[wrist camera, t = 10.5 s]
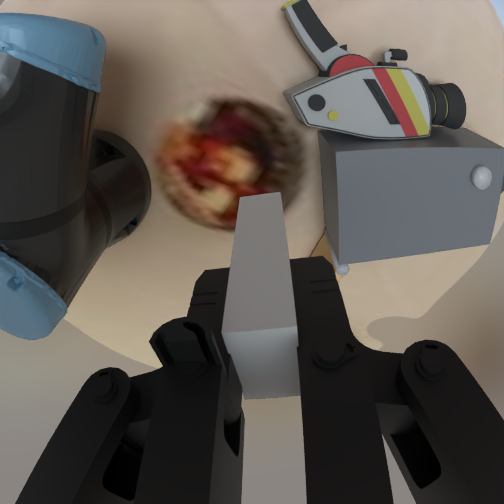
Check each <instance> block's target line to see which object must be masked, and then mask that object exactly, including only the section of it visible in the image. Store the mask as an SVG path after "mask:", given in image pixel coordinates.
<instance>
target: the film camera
mask: <svg viewBox="0 0 504 504" xmlns="http://www.w3.org/2000/svg"><path fill="white" fill-rule="evenodd" d="M281 10H282V11H284V13H285V15H286V17H287V19H288V21H289V23H290V25H291V27H292V29H293V30H294V32H295V34H296V36H297V37H298V39H299V41H300V42H301V44H302V45H303V47H304V48H305V50H306V51H307V52H308V54H309V55H310V56H311V58H312V59H313V60H314V61H315V63H316V64H317V65H318V66H319V67H320V71H319V76H318V77H316V78H313V79H311V80H309V81H306V82H304V83H302V84H300V85H297V86H295V87H293V88H291V89H288V90H286V91H284V95H285V97H286V99H287V101H288V103H289V104H290V106H291V108H292V110H293V112H294V114H295V115H296V117H297V118H299V119H300V120H301V121H302V122H304V123H305V124H306V125H308V126H312V127H317V128H322V129H328V130H333V131H337V132H342V133H347V134H351V135H356V136H360V137H366V138H373V139H409V138H419V137H426V136H429V135H430V132H431V126H432V124H438V125H441V126H445V127H448V128H451V129H458V128H460V127H461V126H462V124H463V122H464V120H465V117H466V102H465V98H464V96H463V93H462V92H461V90H460V89H459V87H458V86H457V85H455V84H453V83H446V84H439V85H430V84H429V83H428V81H427V79H426V78H425V76H423V75H421V74H418V73H414V72H413V71H412V70H411V69H410V68H407V67H398V66H397V63H392V62H390V59H393V60H404V61H405V60H407V58H408V55H407V52H406V51H405V50H401V49H390V50H389V51H387V52H384V53H383V61H384V62H378V63H377V66H374V65H373V64H372V62H370V61H369V60H368V59H367V58H365V57H363V56H360V55H356V54H350V53H349V52H348V51H347V44H346V45H342V46H340V47H338V46H337V44H338V43H337V42H336V41H335V39H334V38H333V37H332V36H331V35H330V33H329V32H328V31H327V29H326V28H325V27H324V25H323V24H322V23H321V21H320V20H319V18H318V17H317V15H316V14H315V12H314V11H313V9H312V8H311V6H310V4H309V3H308V1H307V0H291V1H289V2H288V3H286V4H284V5H283V6H282V8H281Z"/></svg>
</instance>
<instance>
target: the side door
mask: <svg viewBox="0 0 504 504" xmlns="http://www.w3.org/2000/svg"><path fill="white" fill-rule="evenodd" d="M315 256H324V257H325V258H326V259H327V260H328V261H329V262H330V263H331V264H332V265H333V268H334V271H335V274H336V279H337V281H338V282H339V280H340V279H341V278H342V276H343V275H346V274H347V273H348V272H349V267H348V264H343V265H339V264H338V261H337V258H336V255H335V252H334V249H333V246H332V243H331V240H330V237H329V234H328V231H327V228H325V229H324V235H323V236H322V238H321V240H320V241H319V243H318V245H317V247H316V248H315V250H314V252H313V253H312V255H311V256H310V257H315Z"/></svg>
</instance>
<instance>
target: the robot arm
mask: <svg viewBox="0 0 504 504" xmlns="http://www.w3.org/2000/svg"><path fill="white" fill-rule="evenodd" d="M105 54H106V41H105V39H104V37H103V35H102V34H101V33H100V32H99V31H98V30H97V29H95V28H94V27H91V26H89V25H86V24H83V23H79V22H75V21H71V20H66V19H61V18H56V17H50V16H43V15H35V14H23V13H0V328H1V329H2V330H4V331H6V332H8V333H10V334H12V335H14V336H16V337H19V338H23V339H28V340H36V339H40V338H44V337H46V336H48V335H49V334H50V333H51V332H52V330H53V329H54V328H55V327H56V325H57V324H58V323H59V321H60V320H61V319H62V318H63V317H64V316H65V315H66V313H67V308H68V307H69V305H70V303H71V302H72V300H73V298H74V297H75V295H76V293H77V292H78V290H79V288H80V287H81V285H82V284H83V282H84V280H85V279H86V277H87V276H88V274H89V273H90V271H91V269H92V268H93V266H94V265H95V263H96V262H97V260H98V259H99V257H100V256H101V254H102V253H103V251H104V250H105V249H106V248H108V247H110V246H111V245H113V244H115V243H117V242H119V241H121V240H123V239H124V238H126V237H127V236H129V235H130V234H131V233H132V232H133V231H134V230H135V229H136V228H137V227H138V225H139V224H140V222H141V221H142V219H143V218H144V216H145V214H146V212H147V210H148V207H149V204H150V199H151V183H150V178H149V174H148V171H147V168H146V166H145V164H144V162H143V160H142V158H141V157H140V155H139V154H138V153H137V151H136V150H135V149H134V148H133V147H132V146H131V145H130V144H129V143H128V142H126V141H125V140H124V139H122V138H120V137H119V136H117V135H114V134H112V133H109V132H105V131H93V126H94V119H95V113H96V107H97V102H98V97H99V93H101V91H102V86H101V78H102V71H103V65H104V59H105ZM149 343H150V344H151V346H152V348H153V350H154V351H155V353H156V355H157V357H158V358H159V360H160V362H161V363H162V365H163V367H161V368H159V369H157V370H154V371H152V372H148V373H144V374H141V375H137V376H133V377H128V375H127V374H126V372H124V371H123V370H121V369H119V368H112V367H109V368H104V369H100V370H99V371H97V372H95V373H94V374H92V375H91V376H90V378H89V379H88V380H87V381H86V382H85V383H84V385H83V386H82V388H81V390H80V391H79V393H78V394H77V396H76V397H75V399H74V401H73V402H72V404H71V406H70V407H69V409H68V411H67V412H66V414H65V415H64V417H63V419H62V420H61V422H60V424H59V425H58V427H57V429H56V430H55V432H54V434H53V436H52V437H51V439H50V441H49V442H48V444H47V446H46V448H45V449H44V451H43V453H42V455H41V457H40V458H39V460H38V462H37V464H36V465H35V467H34V469H33V471H32V473H31V474H30V476H29V478H28V480H27V482H26V484H25V486H24V488H23V490H22V491H21V493H20V495H19V497H18V500H17V501H16V503H15V504H241V494H242V471H243V447H244V423H245V419H244V413H243V410H242V407H241V401H242V393H243V395H244V398H245V400H246V399H262V398H277V397H288V396H299V395H301V407H302V421H303V436H304V453H305V472H306V493H307V504H394V503H393V496H392V490H391V483H390V477H389V471H388V465H387V459H386V454H385V449H384V443H383V439H382V434H383V436H384V438H385V440H386V442H387V444H388V446H389V448H390V450H391V452H392V454H393V456H394V458H395V460H396V462H397V464H398V466H399V469H400V471H401V473H402V475H403V477H404V479H405V481H406V483H407V485H408V487H409V489H410V491H411V493H412V495H413V497H414V499H415V501H416V504H504V420H503V418H502V417H501V415H500V414H499V412H498V411H497V410H496V408H495V407H494V405H493V404H492V402H491V401H490V399H489V398H488V397H487V395H486V394H485V392H484V391H483V389H482V388H481V387H480V385H479V384H478V383H477V381H476V380H475V378H474V377H473V376H472V374H471V373H470V371H469V370H468V369H467V367H466V366H465V365H464V363H463V362H462V361H461V359H460V358H459V357H458V356H457V354H456V353H455V352H454V351H453V350H452V349H451V348H450V347H449V346H447V345H446V344H444V343H441V342H439V341H434V340H423V341H419V342H415V343H414V344H412V345H411V346H410V347H408V348H407V349H406V350H405V352H404V354H401V353H390V352H382V351H377V350H373V349H371V348H368V347H366V346H364V345H363V344H362V343H360V342H359V341H358V340H357V339H356V338H355V336H354V335H353V333H352V331H351V328H350V324H349V320H348V317H347V313H346V309H345V306H344V302H343V299H342V295H341V292H340V289H339V285H338V281H337V279H336V274H335V271H334V268H333V265H332V264H331V263H330V262H329V261H328V260H327V259H326V258H325V257H324V256H315V257H307V258H298V259H290V260H289V253H288V245H287V237H286V230H285V222H284V215H283V207H282V200H281V193H280V192H276V193H268V194H261V195H253V196H246V197H240V201H239V208H238V215H237V222H236V229H235V236H234V243H233V250H232V257H231V264H230V267H229V268H220V269H211V270H205V271H204V272H203V273H202V275H201V276H200V277H199V278H198V279H197V281H196V283H195V287H194V290H193V296H192V298H191V302H190V307H189V310H188V314H187V317H182V318H177V319H173V320H171V321H169V322H167V323H165V324H163V325H162V326H161V327H159V328H158V329H157V330H156V331H155V332H154V333H153V335H152V337H151V339H150V341H149Z"/></svg>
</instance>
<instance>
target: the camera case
mask: <svg viewBox="0 0 504 504" xmlns="http://www.w3.org/2000/svg"><path fill="white" fill-rule="evenodd" d="M318 136H319V147H320V159H321V171H322V185H323V201H324V220H325V226H326V228H327V231H328V234H329V237H330V240H331V243H332V246H333V249H334V252H335V255H336V258H337V261H338V264H339V265H343V264H351V263H359V262H367V261H374V260H382V259H389V258H397V257H404V256H411V255H419V254H426V253H433V252H440V251H447V250H453V249H460V248H467V247H473V246H480V245H486V244H490V241H491V237H492V233H493V229H494V224H495V220H496V215H497V210H498V205H499V200H500V194H501V193H502V192H503V191H504V147H502V146H500V145H498V144H496V143H494V142H492V141H490V140H488V139H486V138H484V137H482V136H480V135H478V134H476V133H474V132H472V131H470V130H468V129H466V128H458V129H451V128H448V127H431V132H430V135H429V136H426V137H419V138H409V139H373V138H366V137H360V136H356V135H351V134H347V133H342V132H337V131H333V130H322V131H318Z"/></svg>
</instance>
